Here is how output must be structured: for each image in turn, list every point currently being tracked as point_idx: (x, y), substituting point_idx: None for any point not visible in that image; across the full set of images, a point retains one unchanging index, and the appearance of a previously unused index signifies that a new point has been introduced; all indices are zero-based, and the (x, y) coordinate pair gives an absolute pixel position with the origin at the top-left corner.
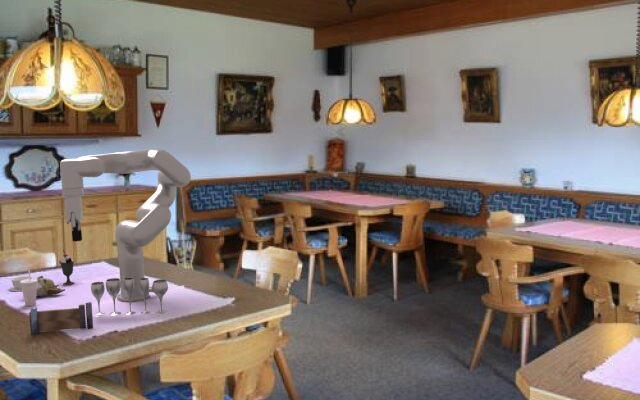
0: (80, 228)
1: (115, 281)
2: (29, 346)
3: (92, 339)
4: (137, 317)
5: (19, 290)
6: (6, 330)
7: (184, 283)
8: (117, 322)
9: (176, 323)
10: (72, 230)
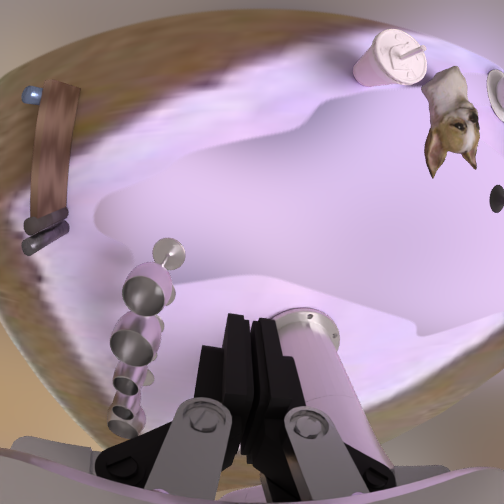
0: (262, 473)
1: (113, 351)
2: (9, 110)
3: (8, 231)
4: None
5: (487, 84)
6: (130, 26)
7: None
8: (89, 288)
9: (70, 377)
10: (181, 410)
